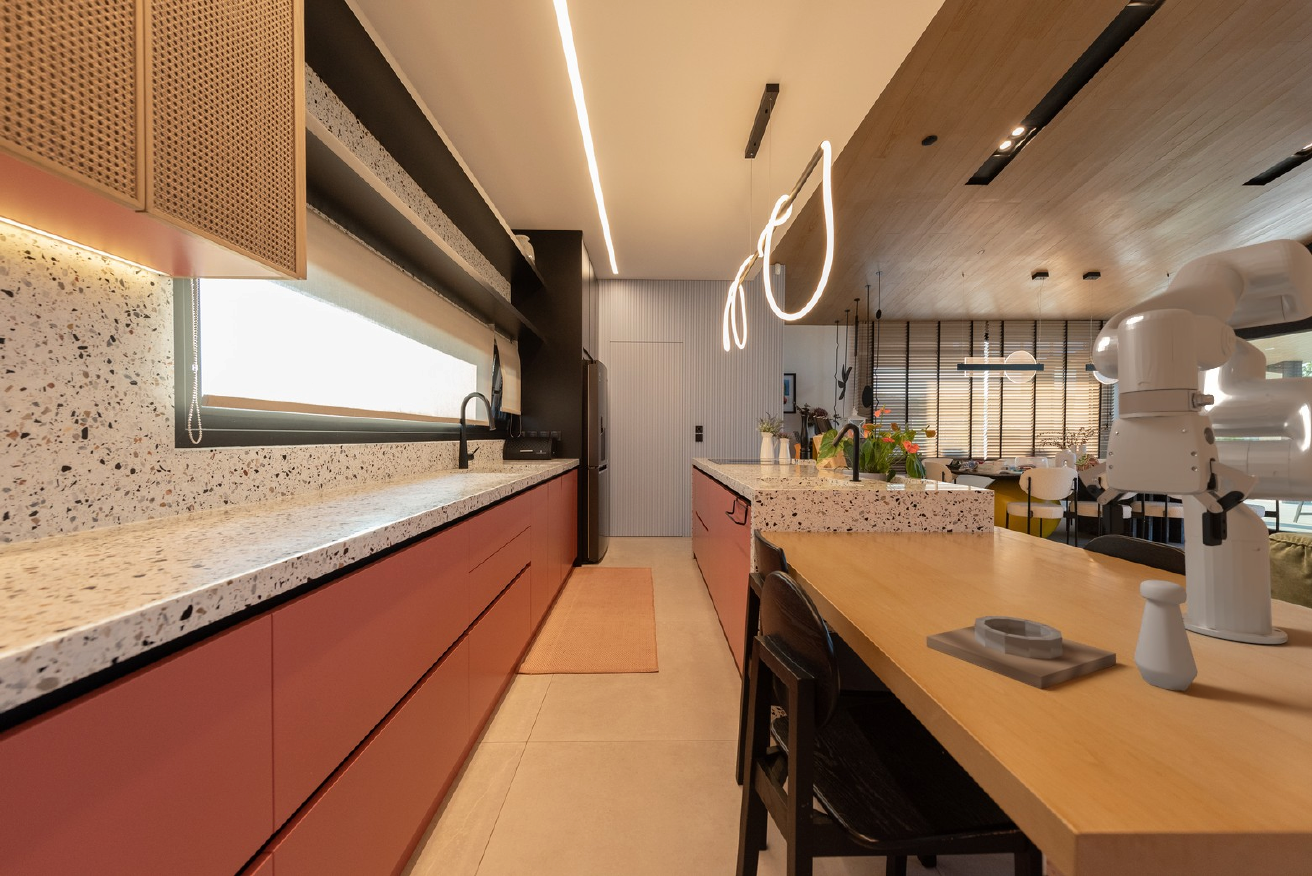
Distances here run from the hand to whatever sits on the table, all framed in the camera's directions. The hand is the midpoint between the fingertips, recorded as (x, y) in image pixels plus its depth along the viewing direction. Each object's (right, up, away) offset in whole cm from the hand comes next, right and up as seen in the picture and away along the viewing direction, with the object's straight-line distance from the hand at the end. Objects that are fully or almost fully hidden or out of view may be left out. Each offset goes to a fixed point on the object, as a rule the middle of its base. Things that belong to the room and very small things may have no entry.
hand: (1160, 539), depth 67 cm
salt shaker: (0, -19, 0) cm, 19 cm away
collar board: (-12, -19, +9) cm, 24 cm away
